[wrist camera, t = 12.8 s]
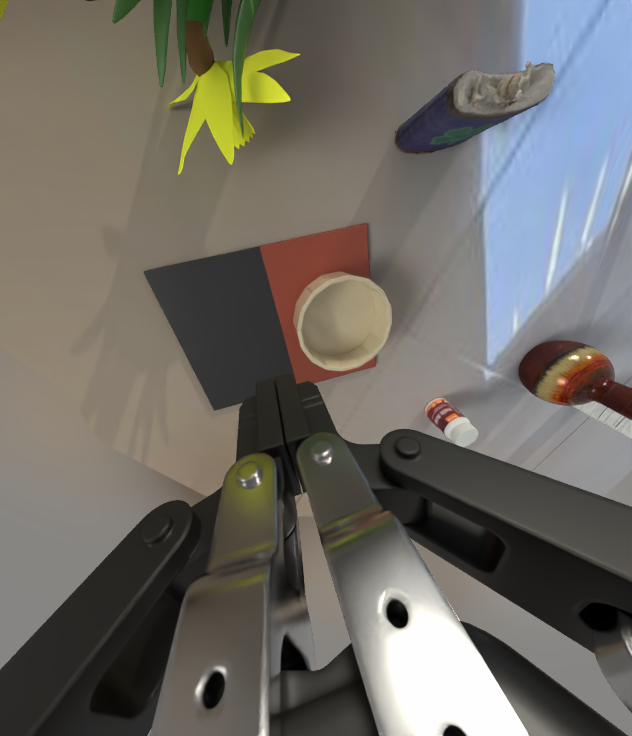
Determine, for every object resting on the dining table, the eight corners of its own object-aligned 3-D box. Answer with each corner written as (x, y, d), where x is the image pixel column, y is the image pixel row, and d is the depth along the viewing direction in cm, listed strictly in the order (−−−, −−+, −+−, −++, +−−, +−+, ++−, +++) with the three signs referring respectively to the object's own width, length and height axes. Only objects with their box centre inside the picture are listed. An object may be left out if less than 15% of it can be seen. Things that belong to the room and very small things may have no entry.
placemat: (214, 408, 37) (214, 410, 36) (144, 271, 27) (143, 271, 26) (375, 365, 39) (376, 366, 39) (365, 223, 29) (366, 223, 29)
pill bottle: (436, 393, 45) (470, 423, 38) (451, 402, 47) (486, 432, 40) (419, 412, 46) (448, 444, 39) (434, 420, 48) (465, 452, 41)
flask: (473, 111, 26) (589, 42, 17) (469, 146, 28) (574, 100, 18) (394, 122, 25) (471, 55, 16) (393, 158, 27) (464, 115, 18)
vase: (574, 338, 46) (704, 380, 32) (538, 388, 50) (639, 442, 37) (533, 329, 43) (659, 371, 29) (499, 383, 47) (594, 440, 34)
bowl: (303, 365, 36) (308, 380, 32) (283, 282, 30) (287, 289, 26) (378, 345, 37) (392, 358, 33) (374, 262, 31) (390, 265, 27)
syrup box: (602, 384, 54) (705, 427, 42) (585, 405, 57) (678, 452, 44) (584, 384, 53) (685, 429, 40) (568, 406, 56) (658, 454, 43)
